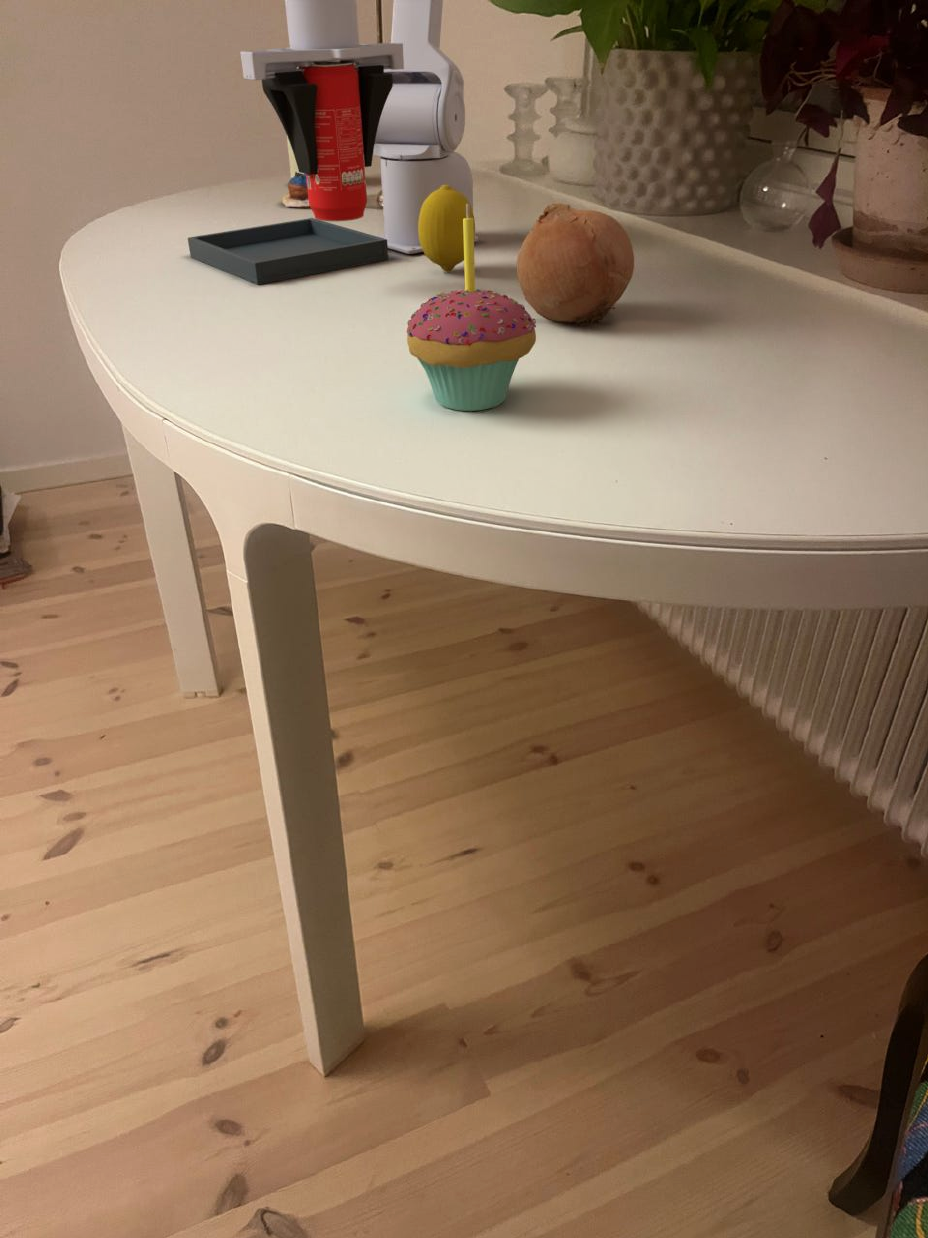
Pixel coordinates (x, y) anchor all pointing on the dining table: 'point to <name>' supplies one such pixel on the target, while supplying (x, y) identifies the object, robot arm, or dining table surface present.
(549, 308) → the onion
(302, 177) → the dessert
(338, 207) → the beverage can
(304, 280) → the dining table surface
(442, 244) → the lemon
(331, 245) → the tray
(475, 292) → the cupcake
